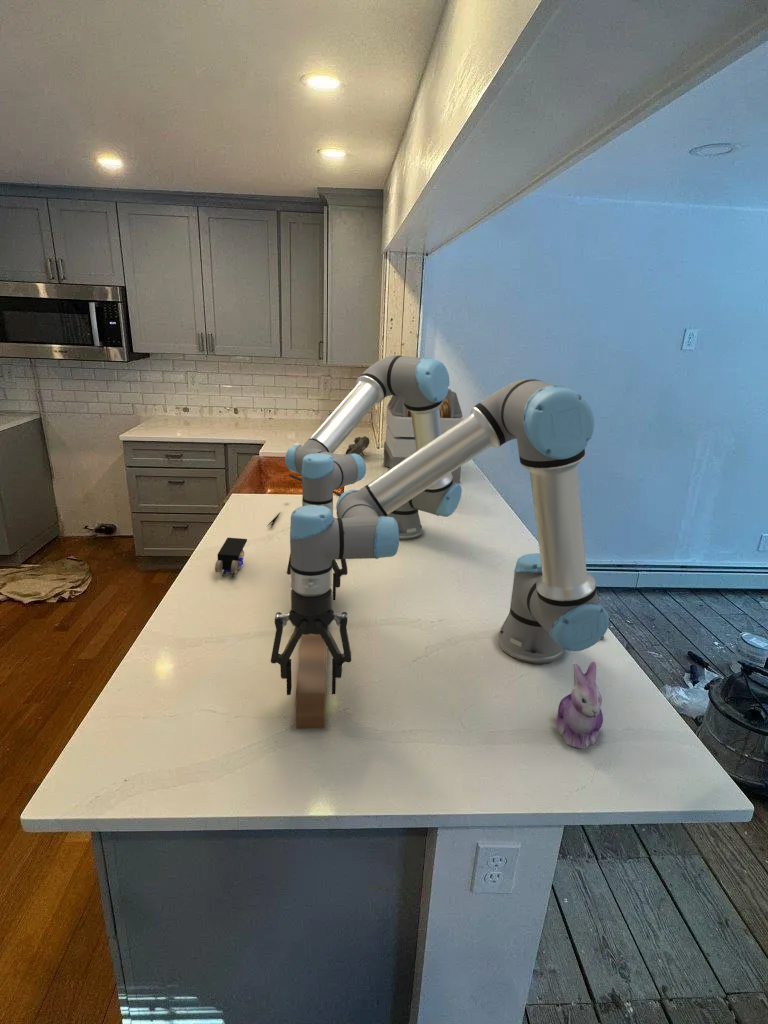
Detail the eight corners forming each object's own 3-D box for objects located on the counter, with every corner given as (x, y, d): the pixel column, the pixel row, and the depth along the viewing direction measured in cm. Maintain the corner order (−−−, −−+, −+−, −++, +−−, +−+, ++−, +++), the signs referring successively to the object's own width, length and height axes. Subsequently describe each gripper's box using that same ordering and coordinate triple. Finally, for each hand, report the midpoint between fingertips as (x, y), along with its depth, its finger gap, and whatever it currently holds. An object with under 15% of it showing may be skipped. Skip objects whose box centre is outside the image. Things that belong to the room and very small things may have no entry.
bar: (308, 593, 156) (308, 567, 153) (328, 593, 156) (328, 567, 154) (296, 728, 106) (295, 693, 104) (324, 727, 107) (325, 693, 104)
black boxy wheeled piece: (238, 584, 162) (249, 557, 175) (236, 562, 158) (247, 536, 172) (215, 584, 161) (227, 556, 175) (212, 561, 158) (225, 535, 171)
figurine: (580, 758, 102) (595, 689, 97) (541, 722, 110) (552, 657, 105) (617, 742, 106) (633, 675, 101) (577, 709, 114) (589, 645, 109)
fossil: (345, 442, 310) (366, 427, 305) (356, 456, 313) (377, 441, 308) (338, 456, 291) (361, 440, 286) (350, 470, 294) (373, 455, 289)
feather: (287, 506, 225) (290, 502, 224) (270, 530, 198) (272, 526, 198) (283, 504, 225) (286, 500, 224) (265, 527, 198) (268, 523, 197)
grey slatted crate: (382, 463, 289) (386, 382, 275) (445, 464, 293) (451, 384, 279) (390, 482, 257) (394, 392, 243) (460, 483, 261) (468, 394, 247)
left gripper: (273, 521, 136) (275, 605, 144) (360, 522, 138) (357, 604, 146) (276, 510, 143) (278, 591, 151) (359, 511, 145) (356, 591, 153)
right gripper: (251, 598, 100) (255, 703, 108) (368, 597, 102) (365, 701, 110) (256, 578, 107) (260, 679, 115) (366, 579, 109) (363, 678, 117)
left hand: (317, 597), depth 148 cm, fingers open, 8 cm apart
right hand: (311, 690), depth 113 cm, fingers open, 8 cm apart
